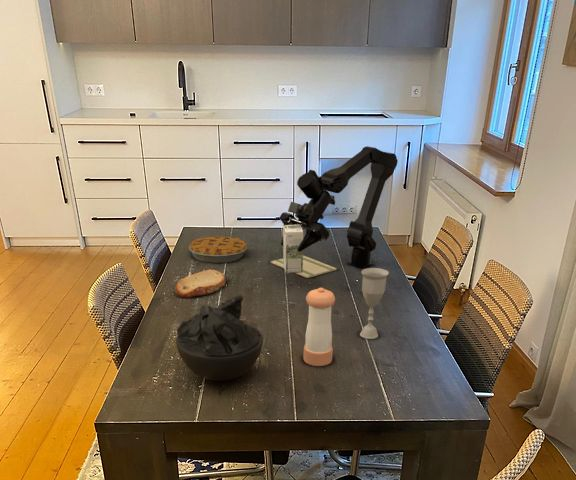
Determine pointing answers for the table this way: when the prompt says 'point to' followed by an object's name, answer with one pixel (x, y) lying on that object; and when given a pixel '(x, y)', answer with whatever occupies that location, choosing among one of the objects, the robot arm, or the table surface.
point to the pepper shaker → (319, 328)
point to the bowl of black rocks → (219, 342)
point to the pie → (218, 249)
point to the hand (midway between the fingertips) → (289, 248)
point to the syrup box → (292, 248)
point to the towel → (309, 267)
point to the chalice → (372, 296)
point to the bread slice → (200, 284)
